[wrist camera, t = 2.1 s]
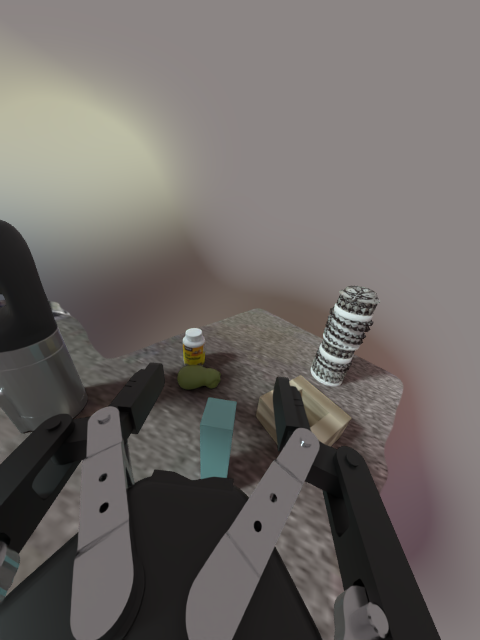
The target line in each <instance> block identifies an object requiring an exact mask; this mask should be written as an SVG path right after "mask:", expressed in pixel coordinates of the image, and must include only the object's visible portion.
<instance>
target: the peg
mask: <svg viewBox="0 0 480 640" xmlns="http://www.w3.org/2000/svg"><path fill="white" fill-rule="evenodd" d="M236 404H237V402H235V401H229V400H223V399H216V398H210V397H208V401H207V404H206V407H205V410H204V413H203V417H202V420H201V423H200V458H201V479H204V478H209V477H223V478H227V474H228V467H229V459H230V451H231V443H232V435H233V427H234V420H235V412H236Z"/></svg>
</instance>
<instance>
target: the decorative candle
mask: <svg viewBox="0 0 480 640" xmlns="http://www.w3.org/2000/svg"><path fill="white" fill-rule="evenodd" d="M339 293H340V296H339V298H338V302H337V303H336V304H335V306H334V307H333V308H331V309H330V316H328V321H327V324H326V328H325V329H324V334H323V337H324V339H323V342H322V343H321V345H320V348H318V350H317V353H316V356H315V358H314V361H313V364H312V367H311V374H312V375H313V377H314V378H315V379H316V380H317V381H319V382H321V383H322V384H324V385H328V386H339V385H341V383H342V381H343V379H344V377H345V375H347V374H346V372H347V370H349V366H350V365H351V362H352V358H353V356H354V355H353V354H354V351H355V350H357V349H358V348H359V346H360V344H362V343H363V342H362V339H364V338H365V337H366V335H365V333H364V332H368V331H369V330H370V328H369V326H372V324H373V322H372V320H371V318H372V316H373V314H374V313H373V312H374V310H375V308H376V306H377V304H378V303H380V300H379V299H378V298H377V294H376V293H375V292H374V291H372V290H370V289H368V288H364V287H359V286H348V287H347V288H346V289H344V290H341V291H340V292H339ZM333 310H334V313H333ZM331 317H332V319H331Z"/></svg>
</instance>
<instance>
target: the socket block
mask: <svg viewBox="0 0 480 640" xmlns="http://www.w3.org/2000/svg"><path fill="white" fill-rule="evenodd" d="M289 383H290V386H296V388H297V389H298V390H299V392H300V393H301V397H302V401H303V404H304V408H305V411H306V415H307V418H308V422H309V425H310V429H311V431H312V433H314V434H315V436H316V437H317V439H318V440H319V441H320V442H322V443H323V444H325V445H328V446H331V445H332V444H334V443H335V442H336V441H337V440H338V439H339V438H340V437H341V435H342V433H343V432H344V430H345V428H346V427H347V425H348V423H349V422H350V420H351V417H350V416H349V415H348V414H346V413H345V412H344V411H343V410H342V409H340V408H339V407H338V406H337V405H336V404H334V403H333V402H332V401H331V400H330V399H328V398H327V397H326V396H325V395H324V394H322V393H321V392H320V391H319V390H318V389H316V388H315V387H314V386H313V385H312V384H310V383H309V382H308V381H307V380H306V379H304V378H303V377H302V376H301V375H300V376H298V377H296V378H295V379H293V380H291V381H289ZM273 391H274V390H272V391H270V392H268V393H266V394H264V395H263V396H261V397H260V399H259V404H258V408H257V413H256V417H257V419H258V420H259V421H260V423H261V424H262V425H263V427H264V428H265V429H266V431H267V432H268V433H269V434H270V436H271V437H272V438H273V440H274V441H275V442H276V444H277V435H276V426H275V417H274V408H273ZM277 445H278V444H277Z"/></svg>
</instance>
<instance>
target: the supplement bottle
mask: <svg viewBox="0 0 480 640" xmlns="http://www.w3.org/2000/svg"><path fill="white" fill-rule="evenodd" d="M183 354H184V365H185V366H187V365H200V366H203V365H204V363H205V338H204V337H203V336H202V331H201V330H200V329H197V328H191V329H189V330H187V331H186V336H185V337H184V339H183Z"/></svg>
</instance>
